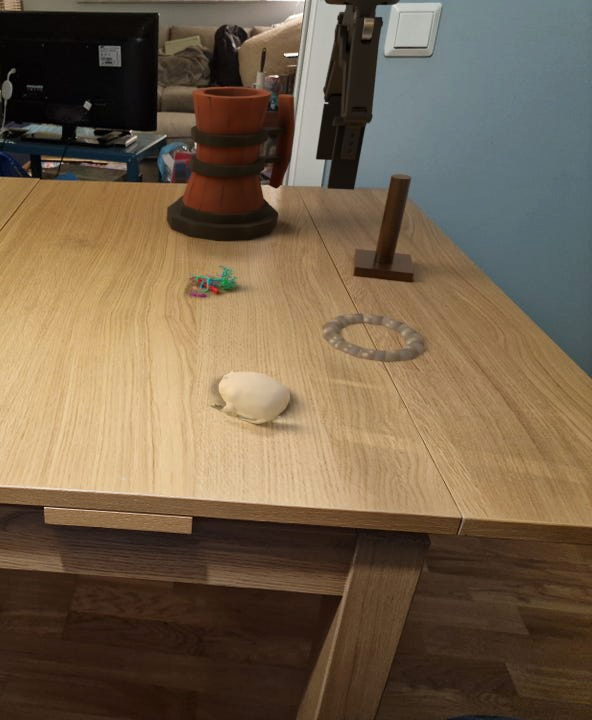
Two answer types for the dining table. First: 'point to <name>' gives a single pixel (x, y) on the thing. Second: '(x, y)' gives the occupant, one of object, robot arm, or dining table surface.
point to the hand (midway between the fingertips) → (333, 173)
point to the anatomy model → (210, 281)
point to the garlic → (253, 396)
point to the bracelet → (406, 353)
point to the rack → (388, 239)
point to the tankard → (232, 165)
